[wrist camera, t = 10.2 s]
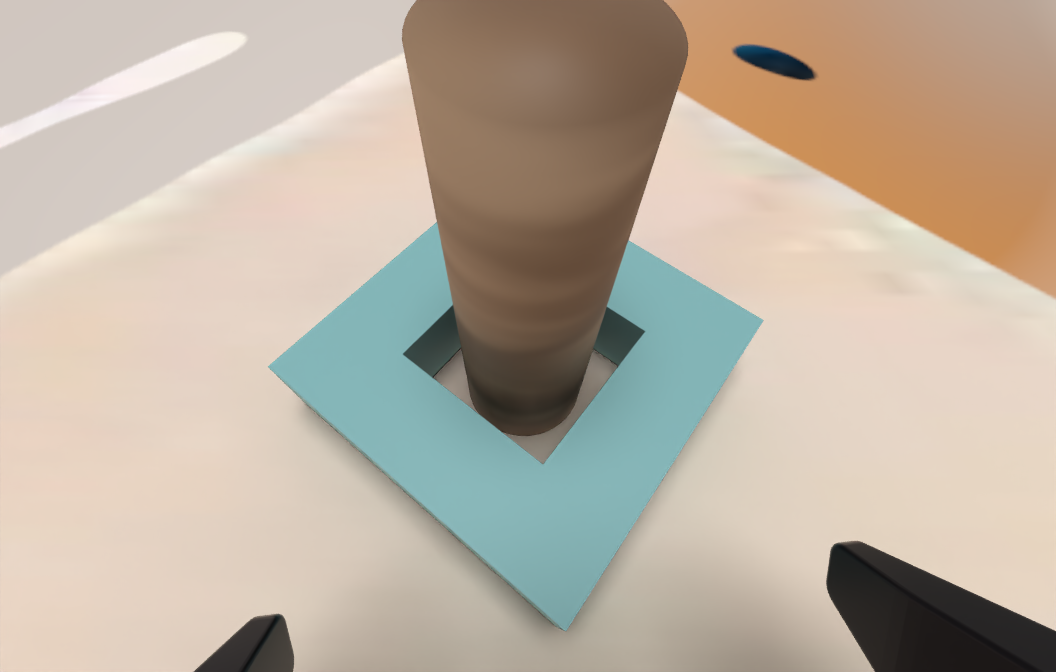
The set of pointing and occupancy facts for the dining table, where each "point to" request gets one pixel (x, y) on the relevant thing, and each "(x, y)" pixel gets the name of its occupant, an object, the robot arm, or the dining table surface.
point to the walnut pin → (537, 177)
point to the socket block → (493, 458)
